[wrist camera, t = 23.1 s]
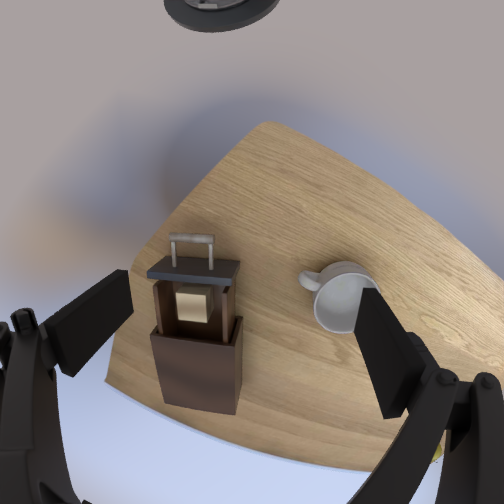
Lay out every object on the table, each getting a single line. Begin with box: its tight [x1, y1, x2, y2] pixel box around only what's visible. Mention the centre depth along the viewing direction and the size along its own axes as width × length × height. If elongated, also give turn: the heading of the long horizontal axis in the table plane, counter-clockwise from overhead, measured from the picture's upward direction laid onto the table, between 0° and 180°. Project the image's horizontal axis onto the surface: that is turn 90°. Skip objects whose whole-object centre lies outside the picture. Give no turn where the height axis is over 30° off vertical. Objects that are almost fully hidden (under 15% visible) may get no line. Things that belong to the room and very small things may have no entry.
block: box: [176, 282, 214, 323], centre depth 46 cm, size 5×5×5 cm
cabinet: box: [150, 316, 243, 415], centre depth 49 cm, size 18×15×10 cm
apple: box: [431, 443, 442, 462], centre depth 55 cm, size 8×8×10 cm
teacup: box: [298, 261, 381, 334], centre depth 43 cm, size 14×11×8 cm
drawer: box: [147, 233, 240, 344], centre depth 45 cm, size 22×13×8 cm, turn 178°
